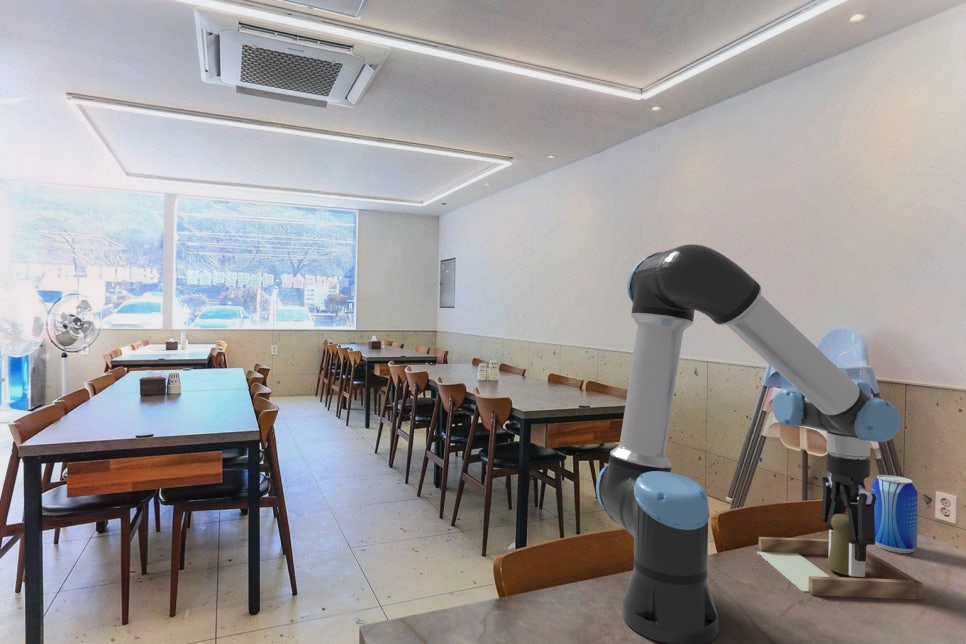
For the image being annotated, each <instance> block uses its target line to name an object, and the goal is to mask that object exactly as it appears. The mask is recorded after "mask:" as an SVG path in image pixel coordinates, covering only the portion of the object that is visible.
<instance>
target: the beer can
mask: <svg viewBox="0 0 966 644" xmlns="http://www.w3.org/2000/svg"><path fill="white" fill-rule="evenodd" d="M871 494H875V495H876V501H875V505H874V513H875V546H876V547H878V548H879V549H881V548H882V550H884V549H885V551H887V550H888V551H887V552H890V551H893V552H892V553H894V552H899V553H898V554H901V553H911V552H913V553H914V551H915V550H916V549H918V496H919V495H918V491H917V489H916V487H915V486H914V485H913V480H912V479H909V478H906V477H903V476H897V475H892V474H891V475H890V474H889V475H888V474H879V475H878V474H877V476H876V479H875V481H874V482H873V483H872V484H871ZM911 554H912V553H911Z"/></svg>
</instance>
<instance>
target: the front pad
mask: <svg viewBox="0 0 966 644" xmlns="http://www.w3.org/2000/svg"><path fill="white" fill-rule="evenodd" d="M756 553H757V554H758V555H759V554H760V555H761V556H762V557H761V556H760V555H759V556H760V557H761V558H763V559H764V561H766V562H767V561H768V562H767V563H768V564H770V565H771V566H772V567H773V568H774V569H775V570H777V571H778V572H779V573H780V574H781V575H783V576H784V577H785V578H786V579H787V580H788V581H790V582H791V583H792V584H793V585H794V586H796V587H797V588H798V589H799V590H800V591H801V592H803V593H805V592H806V593H809V576H817V577H831V576H830V575H829V574H828V573H826V572H824V571H823V570H821V569H820V568H819V567H817V566H816V565H815V564H813V563H812V562H811V561H810V560H808V559H807V558H805V557H803V555H802V554H798V553H781V552H760V551H756Z"/></svg>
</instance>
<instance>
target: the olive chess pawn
mask: <svg viewBox="0 0 966 644" xmlns="http://www.w3.org/2000/svg"><path fill="white" fill-rule="evenodd" d="M831 525H832V527H833V529H834V533H833V538H832V544H831V549H830V555H828V558H829V560H828V561H827V566H826V567H828V568H829V570H831V571H833V572H835V573H838V574H839V575H840V574H842V575H844V576H849V577H851V576H850V575H849V541H852V535H851V529H850V523H849V517H848V514H846V513H845V514H835V515H833V517H832V519H831Z"/></svg>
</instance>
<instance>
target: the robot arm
mask: <svg viewBox="0 0 966 644" xmlns="http://www.w3.org/2000/svg"><path fill="white" fill-rule="evenodd" d="M626 285H627V286H626V288H627V295H628V297H629V298H630V300H631V303H632V307H631V308H632V309H631V314H630V315H631V316H630V317H631V318H632V319H633V321H635V323H636V324H637V329H636V333H635V334H636V335H635V341H634V347H633V348H634V349H633V354H632V355H633V356H632V361H631V366H630V367H631V368H630V372H629V373H630V375H629V378H628V379H629V382H628V385H627V393H626V399H625V406H624V412H623V419H622V426H621V432H620V433H621V434H620V440H619V444H618V445H617V446H616V447H615V448H613V449H611V450H610V452H609V459H608V463H607V464H606V465H605V466H604V467H603V468H602V469H601V470H600V471H599V474H598V476H597V479H596V483H595V484H596V486H595V490H596V496H597V499H598V503H599V505H600V506H601V508H602V509H603V510H604V512H605V514H607V515H608V517H609V518H610V520H612V521H614V522H615V523H616V524H618V525H620V527H621V528H623V529H624V530H625V531H627V533H628V534H630V535H631V536H632V537H634V538H633V539H634V541H633V545H634V546H633V570H632V573H631V575H630V578H629V580H628V584H627V587H626V589H625V592H624V595H623V599H622V609H621V610H622V611H621V612H622V613H621V614H622V618H623V620H624V622H625V624H627V625H628V626H629V628H631V629H632V630H634V631H635V632H637V634H640V635H641V636H643V637H646V638H648V639H650V640H653V641H656V642H659V643H662V644H708V643H710V642H712V641H715V639H716V638H717V637H718V636H719V635H718V634H719V614H718V611H717V608H716V605H715V602H714V599H713V595H712V591H711V589H710V586H709V582H708V557H709V556H708V555H709V553H708V552H709V550H708V549H709V548H708V547H709V519H710V509H709V508H710V507H709V498H708V494H707V491H706V490H705V488H704V487H703V486H702V485H701V484H700V483H699V482H697V481H696V480H694V479H693V478H691V477H687V476H685V475H679V474H678V473H675V472H672V465H673V464H672V463H671V461H670V460H669V458H668V457H667V456H666V448H667V440H668V435H669V428H670V422H671V417H672V416H671V415H672V408H673V403H674V396H675V388H676V383H677V381H676V380H677V376H678V370H679V369H678V368H679V362H680V355H681V349H682V341H683V336H684V332H685V330H686V329H688V328H689V327H690V326H692V325H693V323H694V317H695V311H697V312H700V313H702V314H703V315H705V316H707V317H708V318H709V319H711V321H713V322H714V323H715V324H716V325H718V326H724V325H725V326H727V327H728V328H729V329H730V330H731V331H733V333H735V334H736V335H737V337H739V338H740V339H741V340H742V341H743V342H745V344H747V345H748V346H749V347H750V348H751V349H752V350H753V351H754V352H755V353H756V354H758V355H759V356H760V357H761V358H762V359H763V360H764V361H765V362H766V363H768V364H769V365H770V366H771V367H772V368H773V369H774V370H775V371H776V372H777V373H778V374H779V375H781V376H782V377H783V378H784V379H785V380H786V381H787V382H788V383H789V384H790V385H792V386H793V388H784V389H783V388H782V389H780V390H779V391H777V392H776V393H775V395H774V396H773V398H772V408H771V409H772V412H773V413H772V414H773V415H774V418H775V419H776V420H777V422H778V423H779V424H781V425H783V426H785V427H786V426H787V427H795V428H799V427H804V428H805V427H806V428H811V429H815V430H821V431H824V432H826V451H827V452H828V453H827V454H826V459H825V460H826V462H825V463H826V467H825V469H826V471H827V472H828V473H830V474H831V476H822V478H821V480H822V481H821V482H822V487H823V489H822V505H821V522H822V523H823V524H826V528H827V529H828V539H829V555H830V549H831V544H832V538H833V533H834V529H833V527H832V525H831V519H832V517H833V515H835V514H846V511H847V515H848V517H849V523H850V529H851V535H852V541H849V575H850V576H849V575H848V576H849V577H856V578H861V577H862V578H865V577H866V567H865V561H866V550H867V545H869V546H871V545H872V546H874V545H875V546H876V544H875V513H874V505H875V501H876V495H875V494H872V492H871V493H869V492H868V491H867V490H866V486H865V480H866V479H867V478H869V477H870V476H871V460H870V459H869V458H868V457H870V456H871V442H875V443H885V442H889V441H890V440H891V439H893V438H894V437H895V436H896V435H897V433H898V431H899V430H900V428H901V422H902V421H901V414H900V412H899V410H898V408H897V406H895V404H894V403H892V402H890V401H888V400H886V399H882V398H880V397H872V389H871V385H870V383H868V382H866V381H862V380H853V379H851V378H850V377H848V376H847V375H846V373H844V372H843V370H841V369H840V368H839V367H838V366H837V365H836V364H835V363H834V362H833V361H832V360H831V359H829V358H828V357H827V356H826V355H825V354H824V353H823V352H822V351H821V349H819V348H818V347H817V346H816V345H815V344H813V342H811V341H810V340H809V339H808V337H807V336H805V335H804V334H803V333H802V332H801V331H800V330H799V329H798V328H797V327H795V326H794V325H793V324H792V323H791V322H790V320H789V319H787V318H786V317H785V316H784V315H783V314H782V313H781V312H780V311H779V310H778V309H777V308H776V307H775V306H774V305H772V304H771V302H769V301H768V300H767V299H766V298H765V297H764V295H762V286H761V285H760V283H758V282H757V281H756V280H755V278H753V277H752V276H751V275H750V274H749V273H748V272H747V271H745V270H744V269H743V268H742V267H740V265H739V264H737V263H736V262H734V261H733V260H732V259H730V258H729V257H727V256H726V255H724V254H723V253H720V252H719V251H717V250H715V249H713V248H710V247H708V246H706V245H702V244H701V245H700V244H694V243H693V244H684V245H679V246H676V247H675V248H672V249H668V250H666V251H665V250H664V251H659V252H654V253H652V254H650V255H648V256H645V258H643V259H641V260H640V261H638V262H637V263H636V264H635V265H634V266H633V268H632V269H631V270H630V272H629V275H628V277H627V284H626ZM829 555H828V556H829ZM828 560H829V557H828Z"/></svg>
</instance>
